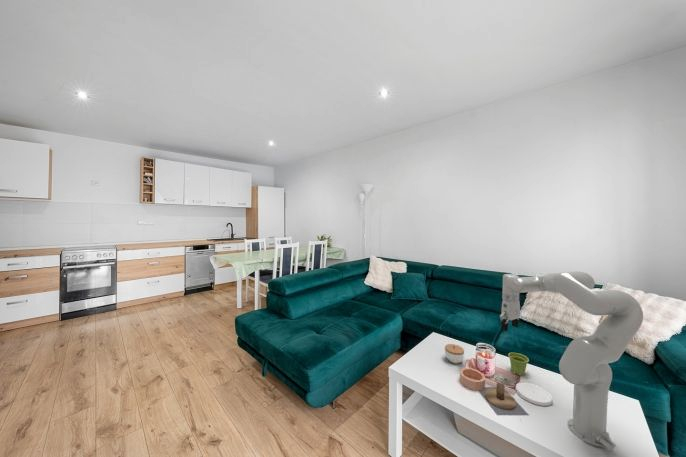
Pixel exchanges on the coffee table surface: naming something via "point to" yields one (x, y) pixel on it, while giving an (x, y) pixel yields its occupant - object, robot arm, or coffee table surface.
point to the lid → (500, 398)
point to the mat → (498, 411)
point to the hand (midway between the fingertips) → (509, 328)
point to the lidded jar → (454, 353)
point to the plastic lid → (534, 394)
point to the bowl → (472, 379)
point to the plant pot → (518, 363)
